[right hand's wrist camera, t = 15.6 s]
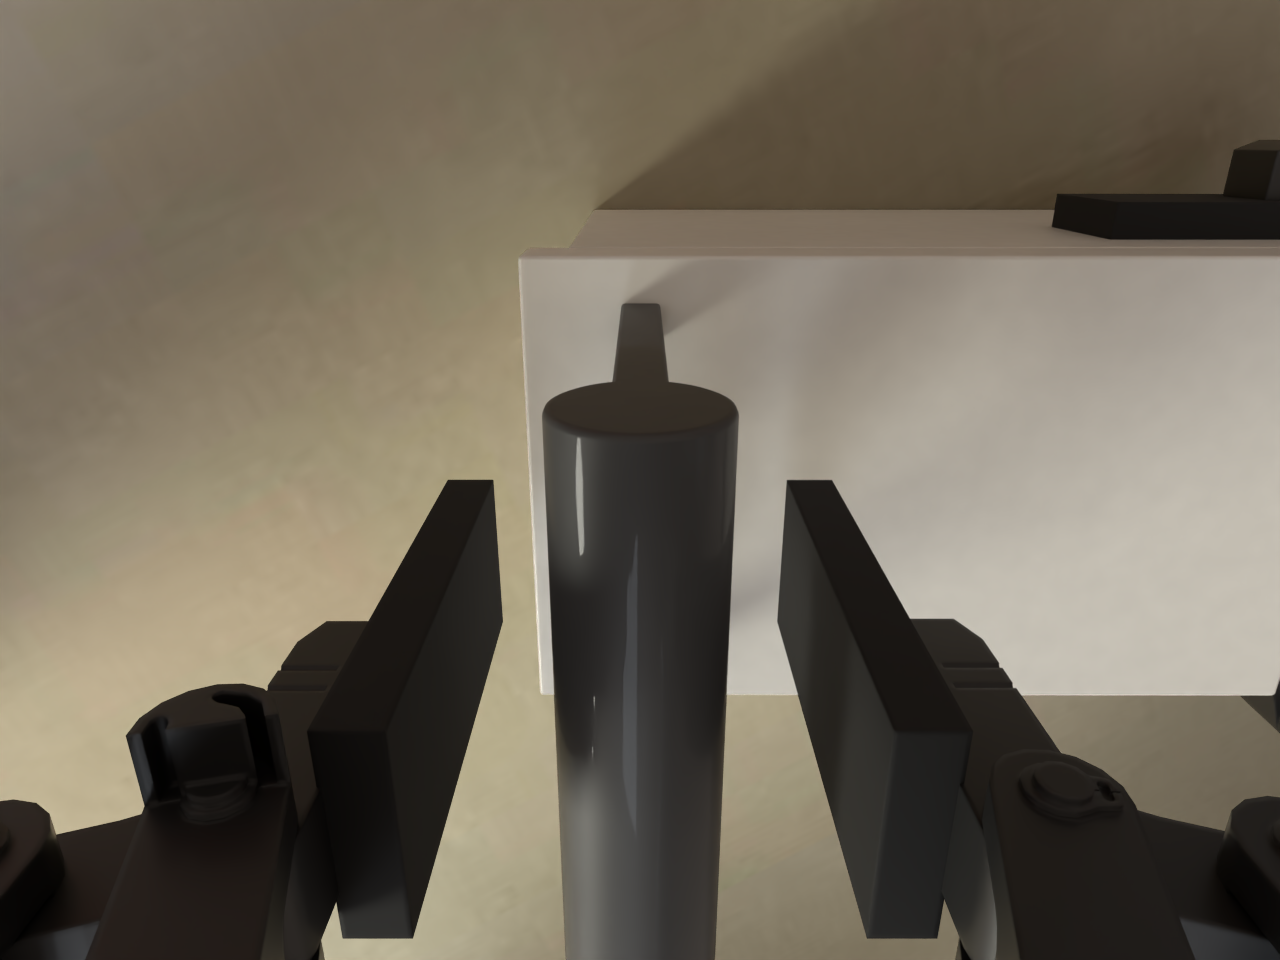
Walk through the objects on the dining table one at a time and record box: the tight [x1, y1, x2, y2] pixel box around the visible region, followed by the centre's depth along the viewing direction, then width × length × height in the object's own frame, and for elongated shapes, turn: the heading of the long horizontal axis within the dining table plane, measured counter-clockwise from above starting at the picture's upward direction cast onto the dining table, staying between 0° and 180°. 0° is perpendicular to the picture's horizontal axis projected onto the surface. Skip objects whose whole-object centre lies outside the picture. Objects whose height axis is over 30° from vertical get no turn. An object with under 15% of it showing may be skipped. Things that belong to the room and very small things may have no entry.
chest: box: [569, 210, 1280, 248], centre depth 22 cm, size 15×9×9 cm, turn 90°
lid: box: [518, 248, 1280, 960], centre depth 14 cm, size 16×9×9 cm, turn 90°
